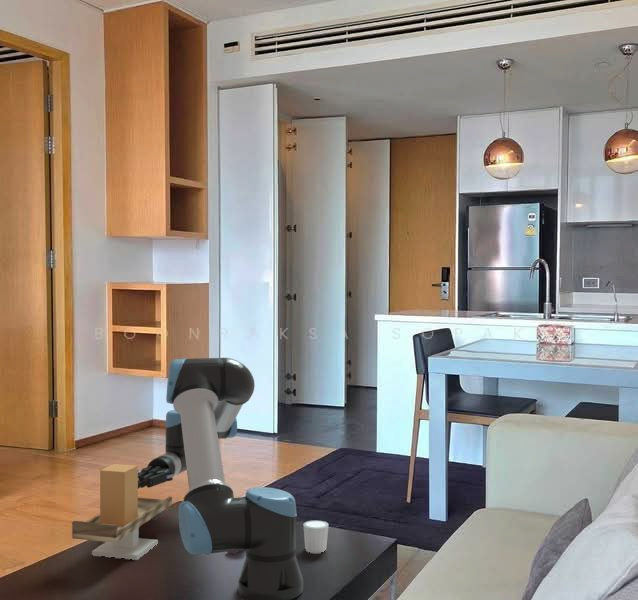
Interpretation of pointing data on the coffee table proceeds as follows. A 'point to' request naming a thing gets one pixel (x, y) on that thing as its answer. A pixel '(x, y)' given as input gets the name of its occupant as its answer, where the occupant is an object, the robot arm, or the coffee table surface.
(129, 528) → the beam
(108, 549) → the pivot stand
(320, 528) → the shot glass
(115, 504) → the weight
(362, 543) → the coffee table surface
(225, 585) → the coffee table surface
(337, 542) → the coffee table surface
